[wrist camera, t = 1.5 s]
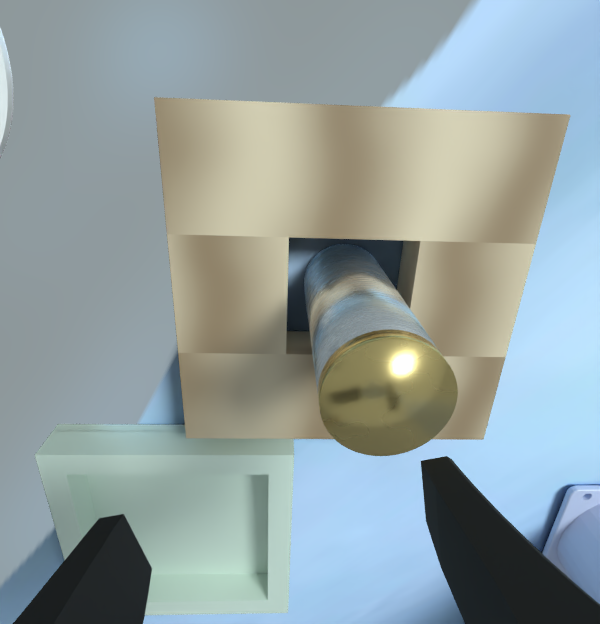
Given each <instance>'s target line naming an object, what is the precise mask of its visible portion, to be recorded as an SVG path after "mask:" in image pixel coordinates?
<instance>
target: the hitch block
mask: <svg viewBox="0 0 600 624" xmlns="http://www.w3.org/2000/svg"><path fill="white" fill-rule="evenodd" d="M154 100H155V112H156V121H157V132H158V144H159V153H160V165H161V175H162V185H163V195H164V207H165V218H166V229H167V239H168V250H169V261H170V271H171V282H172V293H173V304H174V314H175V325H176V334H177V335H176V336H177V346H178V357H179V368H180V378H181V389H182V400H183V410H184V421H185V432H186V438H229V439H334V438H333V437H332V436H331V435H330V433H329V432H328V431H327V429H326V427H325V426H324V424H323V421H322V418H321V414H320V408H319V400H318V393H317V385H316V377H315V369H314V361H313V354H312V346H311V338H310V331H287V295H288V255H289V237H291V238H329V239H367V240H403V248H402V255H401V262H400V269H399V277H398V284H397V291H398V292H399V294H400V295H401V297H402V298H403V300H404V301H405V302H406V304H407V305H408V307H409V308H410V310H411V311H412V312H413V314H414V315H415V317H416V318H417V320H418V321H419V322H420V324H421V325H422V327H423V328H424V330H425V331H426V332H427V334H428V335H429V337H430V338H431V340H432V341H433V342H434V344H435V345H436V347H437V348H438V350H439V351H440V352H441V354H442V355H443V357H444V358H445V360H446V361H447V362H448V364H449V365H450V367H451V369H452V371H453V372H454V375H455V378H456V381H457V387H458V397H457V403H456V406H455V410H454V412H453V414H452V416H451V418H450V420H449V421H448V423H447V424H446V426H445V427H444V428H443V429H442V430H441V431H440V432H439V433H438V434H437V435H436V436H435V437H434V438H432V439H484V435H485V431H486V428H487V424H488V420H489V417H490V413H491V409H492V405H493V402H494V398H495V394H496V390H497V387H498V383H499V379H500V376H501V372H502V368H503V364H504V361H505V357H506V353H507V349H508V346H509V342H510V338H511V335H512V331H513V327H514V323H515V320H516V316H517V312H518V308H519V305H520V301H521V297H522V294H523V290H524V286H525V282H526V279H527V275H528V271H529V267H530V264H531V260H532V256H533V253H534V249H535V245H536V241H537V238H538V234H539V230H540V226H541V223H542V219H543V215H544V212H545V208H546V204H547V200H548V197H549V193H550V189H551V185H552V182H553V178H554V174H555V171H556V167H557V163H558V159H559V156H560V152H561V148H562V144H563V141H564V137H565V133H566V130H567V126H568V122H569V118H570V115H565V114H541V113H517V112H493V111H469V110H445V109H421V108H397V107H373V106H348V105H325V104H324V105H323V104H299V103H276V102H253V101H228V100H204V99H180V98H154Z"/></svg>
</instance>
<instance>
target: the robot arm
mask: <svg viewBox="0 0 600 624" xmlns="http://www.w3.org/2000/svg"><path fill="white" fill-rule="evenodd" d="M421 467H422V479H423V490H424V502H425V513H426V522H427V525H428V528H429V531H430V535H431V538H432V541H433V544H434V547H435V550H436V553H437V556H438V559H439V562H440V565H441V568H442V571H443V573H444V575H445V578H446V580H447V582H448V585H449V587H450V589H451V592H452V594H453V596H454V599H455V601H456V603H457V606H458V608H459V610H460V613H461V615H462V617H463V620H464V622H465V624H600V485H576V486H572V487H570V488H569V489H568V490H567V492H566V494H565V497H564V500H563V502H562V505H561V507H560V510H559V512H558V515H557V517H556V520H555V522H554V525H553V527H552V530H551V532H550V535H549V537H548V540H547V543H546V545H545V548H544V550H543V553H541V552H540V551H539V550H538V549H537V548H536V547H534V546H533V545H532V544H531V543H530V542H529V541H528V540H527V539H526V538H525V537H524V536H523V535H522V534H521V533H520V532H519V531H518V530H517V529H516V528H515V527H514V526H513V525H512V524H511V523H510V522H509V521H508V520H507V519H506V518H505V517H504V516H503V515H502V514H501V513H500V512H499V511H498V510H497V509H496V508H495V507H494V506H493V505H492V504H491V503H490V502H489V501H488V500H487V499H486V498H485V497H484V496H483V494H482V493H481V492H480V491H479V490H478V489H477V488H476V487H475V486H474V485H473V484H472V483H471V481H470V480H469V479H468V478H467V477H466V476H465V475H464V473H463V472H462V471H461V470H460V469H459V468H458V466H457V465H456V464H455V463H454V462H453V460H452V459H450V458H449V457H447V456H446V457H440V458H435V459H429V460H424V461H421ZM151 573H152V567H151V565H150V563H149V562H148V560H147V558H146V556H145V554H144V552H143V550H142V548H141V546H140V544H139V542H138V540H137V538H136V537H135V535H134V533H133V531H132V529H131V527H130V525H129V523H128V521H127V519H126V517H125V515H124V514H120V515H114V516H109V517H103V518H99V519H98V520H97V522H96V523H95V524H94V525H93V526H92V527H91V529H90V530H89V531H88V532H87V534H86V535H85V536H84V537H83V538H82V540H81V541H80V542H79V543H78V545H77V546H76V547H75V548H74V550H73V551H72V552H71V553H70V555H69V556H68V557H67V558H66V560H65V561H64V562H63V563H62V565H61V566H60V567H59V568H58V570H57V571H56V572H55V573H54V574H53V576H52V577H51V578H50V579H49V581H48V582H47V583H46V584H45V585H44V587H43V588H42V589H41V590H40V592H39V593H38V594H37V595H36V596H35V598H34V599H33V600H32V601H31V603H30V604H29V605H28V606H27V607H26V609H25V610H24V611H23V612H22V614H21V615H20V616H19V617H18V618H17V619H16V621H15V622H14V623H13V624H143V620H144V616H145V610H146V605H147V599H148V593H149V586H150V579H151Z"/></svg>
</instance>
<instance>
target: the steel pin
mask: <svg viewBox="0 0 600 624" xmlns="http://www.w3.org/2000/svg"><path fill="white" fill-rule="evenodd" d="M304 291H305V299H306V307H307V314H308V322H309V330H310V338H311V346H312V354H313V361H314V369H315V377H316V385H317V393H318V400H319V408H320V414H321V418H322V421H323V424H324V426H325V427H326V429H327V431H328V432H329V433H330V435H331V436H332V437H333V438H334V439H335V440H336V441H337V442H339V443H340V444H341V445H343V446H345V447H346V448H348V449H350V450H353V451H355V452H358V453H362V454H366V455H373V456H389V455H396V454H401V453H405V452H408V451H410V450H413V449H416V448H418V447H420V446H422V445H423V444H425V443H427V442H428V441H430V440H431V439H432V438H434V437H435V436H436V435H437V434H438V433H439V432H440V431H441V430H442V429H443V428H444V427H445V426H446V424H447V423H448V421H449V420H450V418H451V416H452V414H453V412H454V410H455V406H456V403H457V397H458V387H457V381H456V378H455V375H454V372H453V371H452V369H451V367H450V365H449V364H448V362H447V361H446V360H445V358H444V357H443V355H442V354H441V352H440V351H439V350H438V348H437V347H436V345H435V344H434V342H433V341H432V340H431V338H430V337H429V335H428V334H427V332H426V331H425V330H424V328H423V327H422V325H421V324H420V322H419V321H418V320H417V318H416V317H415V315H414V314H413V312H412V311H411V310H410V308H409V307H408V305H407V304H406V302H405V301H404V300H403V298H402V297H401V295H400V294H399V292H398V291H397V290H396V288H395V287H394V285H393V284H392V282H391V281H390V279H389V278H388V277H387V275H386V274H385V272H384V271H383V269H382V268H381V267H380V265H379V264H378V262H377V261H376V259H375V258H374V257H373V256H372V255H371V254H370V253H369V252H368V251H367V250H365V249H363V248H361V247H359V246H356V245H352V244H337V245H333V246H330V247H327V248H325V249H324V250H322V251H320V252H319V253H318V254H317V255H316V256H315V257H314V258H313V259H312V260H311V261H310V263H309V265H308V266H307V269H306V271H305V275H304Z"/></svg>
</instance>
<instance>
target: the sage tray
mask: <svg viewBox="0 0 600 624" xmlns="http://www.w3.org/2000/svg"><path fill="white" fill-rule="evenodd" d="M35 458H36V462H37V465H38V469H39V472H40V476H41V479H42V483H43V486H44V490H45V493H46V497H47V500H48V504H49V507H50V511H51V514H52V518H53V521H54V525H55V529H56V532H57V536H58V539H59V543H60V546H61V550H62V553H63V557H64V560H66V558H67V557H68V556H69V555H70V553H71V552H72V551H73V550H74V548H75V547H76V546H77V545H78V543H79V542H80V541H81V540H82V538H83V537H84V536H85V535H86V534H87V532H88V531H89V530H90V529H91V527H92V526H93V525H94V524H95V523H96V522H97V520H98V519H99V518H103V517H109V516H114V515H120V514H124V515H125V517H126V519H127V521H128V523H129V525H130V527H131V529H132V531H133V533H134V535H135V537H136V538H137V540H138V542H139V544H140V546H141V548H142V550H143V552H144V554H145V556H146V558H147V560H148V562H149V563H150V565H151V567H152V573H151V579H150V586H149V593H148V599H147V605H146V610H145V615H184V614H246V613H288V598H289V572H290V546H291V520H292V494H293V468H294V441H293V439H229V438H186V432H185V425H147V424H129V425H128V424H126V425H125V424H124V425H123V424H58V425H57V426H56V427H55V429H54V430H53V432H52V433H51V434H50V435H49V437H48V438H47V439H46V441H45V442H44V443H43V445H42V446H41V447H40V449H39V450H38V451H37V453H36V454H35Z"/></svg>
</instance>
